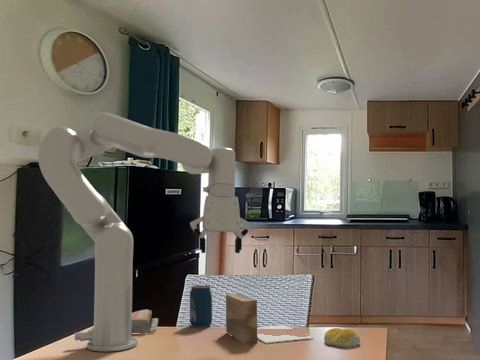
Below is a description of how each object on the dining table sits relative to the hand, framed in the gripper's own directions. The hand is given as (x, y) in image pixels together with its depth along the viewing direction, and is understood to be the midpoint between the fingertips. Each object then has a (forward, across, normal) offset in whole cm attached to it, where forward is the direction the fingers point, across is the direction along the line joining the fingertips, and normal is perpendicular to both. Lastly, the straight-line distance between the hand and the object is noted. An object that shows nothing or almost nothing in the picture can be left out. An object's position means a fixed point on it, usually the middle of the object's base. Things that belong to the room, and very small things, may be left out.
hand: (220, 252), depth 128 cm
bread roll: (+23, +30, -13) cm, 40 cm away
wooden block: (+23, +6, 0) cm, 24 cm away
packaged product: (+24, -21, +21) cm, 38 cm away
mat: (+23, +17, +1) cm, 28 cm away
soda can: (+24, -2, +19) cm, 30 cm away
